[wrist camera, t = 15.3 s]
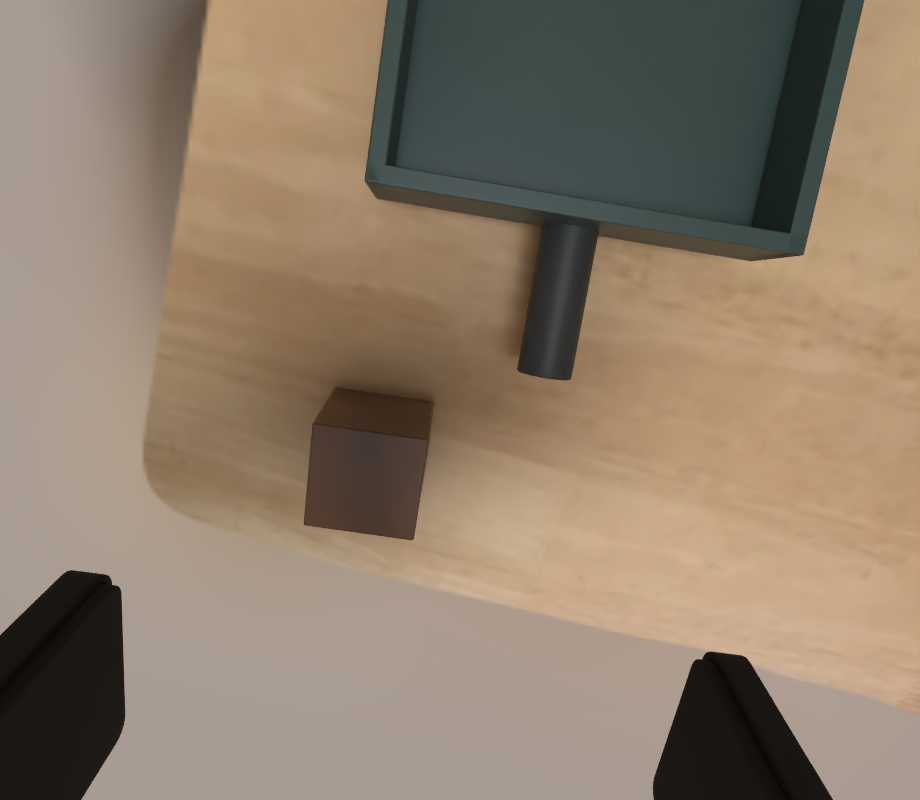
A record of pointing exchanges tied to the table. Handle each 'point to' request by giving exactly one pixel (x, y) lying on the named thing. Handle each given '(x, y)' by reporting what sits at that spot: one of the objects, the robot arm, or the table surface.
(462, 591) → the table surface
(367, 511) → the block
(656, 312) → the table surface
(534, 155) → the dustpan
